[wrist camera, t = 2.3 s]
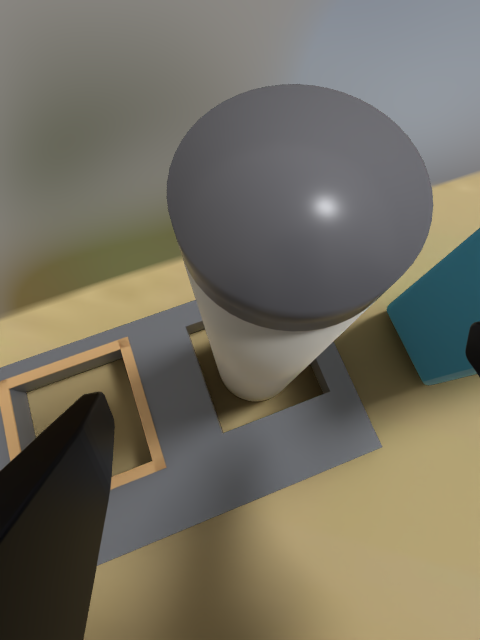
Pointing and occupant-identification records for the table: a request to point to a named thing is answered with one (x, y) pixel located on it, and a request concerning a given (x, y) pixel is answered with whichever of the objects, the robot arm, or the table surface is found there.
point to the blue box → (441, 314)
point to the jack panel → (190, 429)
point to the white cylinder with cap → (292, 224)
